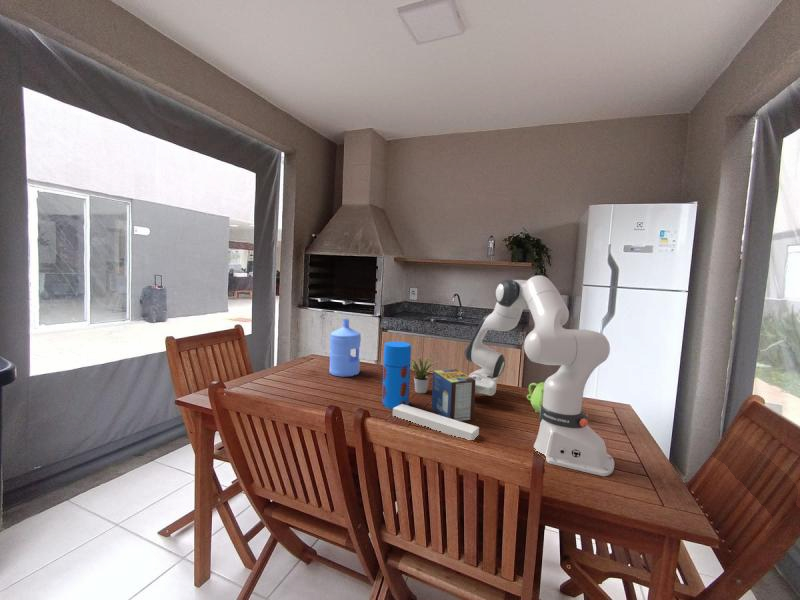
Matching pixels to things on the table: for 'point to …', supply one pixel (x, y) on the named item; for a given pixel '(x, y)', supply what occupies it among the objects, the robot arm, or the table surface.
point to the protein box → (453, 394)
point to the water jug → (344, 351)
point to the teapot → (536, 396)
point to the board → (436, 422)
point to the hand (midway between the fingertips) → (463, 389)
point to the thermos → (396, 374)
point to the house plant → (421, 375)
